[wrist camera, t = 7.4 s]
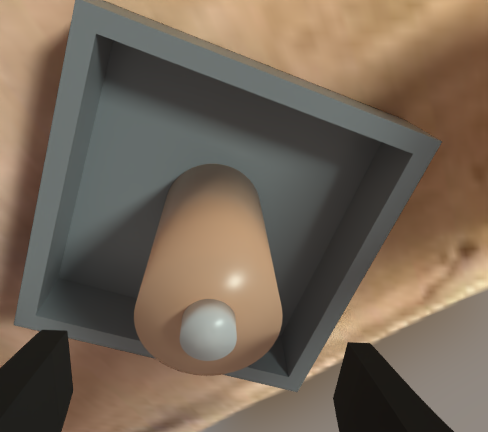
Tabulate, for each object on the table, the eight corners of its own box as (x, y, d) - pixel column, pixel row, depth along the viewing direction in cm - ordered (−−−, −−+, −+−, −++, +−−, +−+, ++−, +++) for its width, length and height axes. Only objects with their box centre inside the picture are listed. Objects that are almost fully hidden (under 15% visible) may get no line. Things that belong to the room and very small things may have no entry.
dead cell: (264, 166, 19) (296, 276, 11) (255, 251, 21) (276, 397, 13) (165, 160, 19) (125, 269, 11) (165, 247, 21) (131, 394, 13)
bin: (405, 120, 19) (442, 141, 16) (287, 343, 24) (297, 392, 21) (103, 0, 17) (75, -3, 13) (43, 279, 22) (13, 325, 19)
